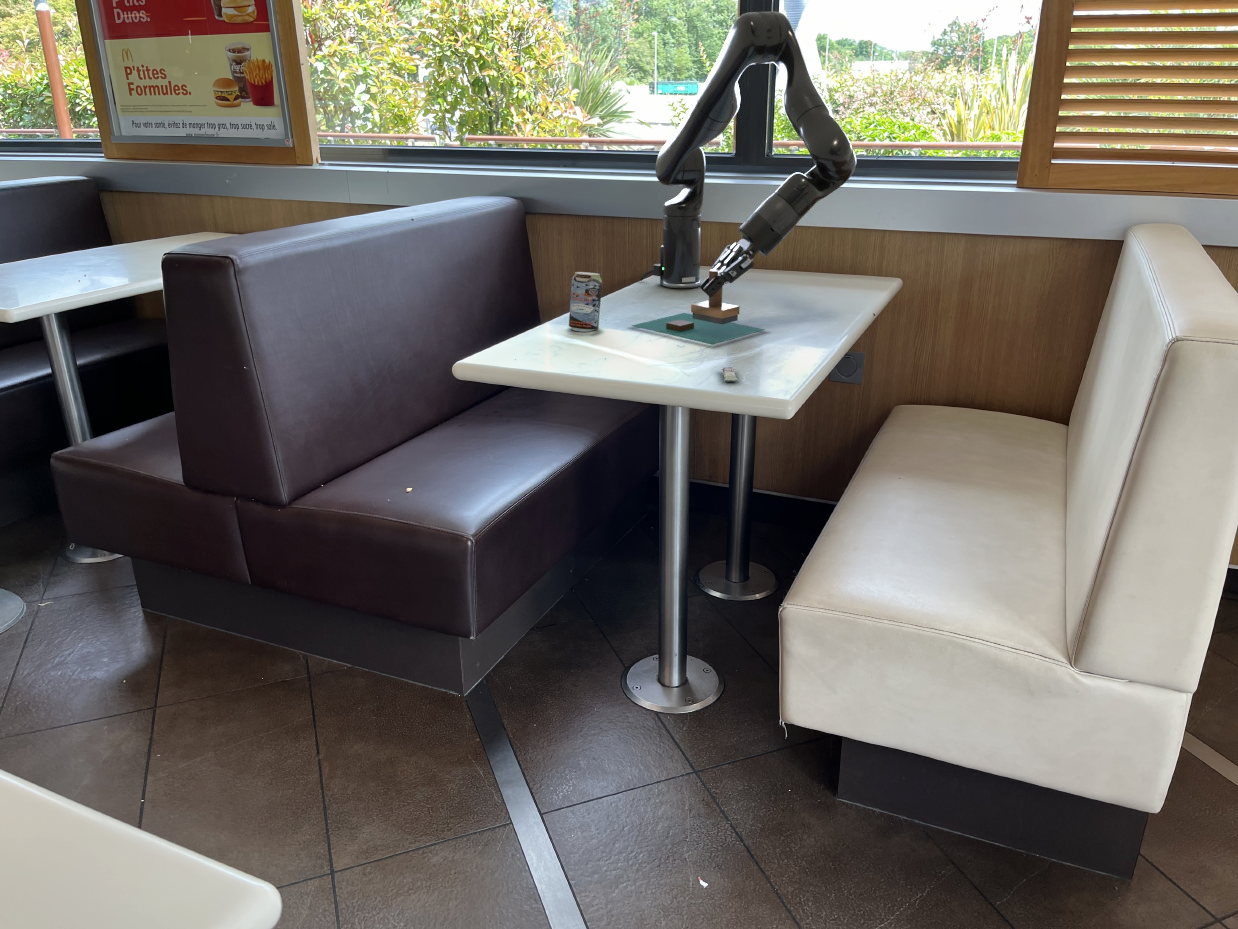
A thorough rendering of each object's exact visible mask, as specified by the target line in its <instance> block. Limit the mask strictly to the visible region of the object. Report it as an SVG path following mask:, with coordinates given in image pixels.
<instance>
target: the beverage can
mask: <svg viewBox="0 0 1238 929" xmlns="http://www.w3.org/2000/svg"><path fill="white" fill-rule="evenodd" d="M602 286H603V280H602V278H601V276H600V273H597V272H596V273H595V272H588V271H586V272H585V271H575V272H574V275H573V276H572V278H571V287H570V301H569V314H568V327H569V328H571V330H572V331H574V332H582V333H590V332H594V331H595V330H598V329H599V327H600V326H599V325H600V316H601V315H600V313H601V299H602V288H603V287H602Z"/></svg>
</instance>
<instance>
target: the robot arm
mask: <svg viewBox="0 0 1238 929" xmlns="http://www.w3.org/2000/svg"><path fill="white" fill-rule="evenodd" d="M772 63H773V64H774V65H775V66H776V67H777V68H778V70H780V72H781V74H782V76H783V80H784V81H783V89H782V90H783V91H782V105H783V110H784V113H785V116H786V118H787V119H788V121H789V123H790V124H791V126H792V128H793V130H794V131H795V133H796V135H797V136H798V137H799V139H800V140H801V141H802V142H803V144H804V146H805V147H806V149H807V151H808V153H809V155H810V157H811V159H812V162H813V164H814V166H813V167H812V168H810V170H808V171H807V172H805V173H804V174H803V173H801V172H794V173H792V174H791V175H790V176H789V177H788V178H786V180H785V181H783V183H782V184H781V185H780V186H779V187H778V188H777V189H776V190H775V191H774V192H773V193H772V194H771V195H770V196H768V198H766V199H765V200H764V201H763V202H762V203H761V204H759V206H758V207H757V208H756V209H755V210H754V211H753V212H752V213H751V214H750V215H749V216H748V218H746V220H745V221H744V222H743V223H742V224H741V225H740V226H739V228H738V231H739V233H740V234H741V235H742V238H741V239H739V240H738V241H737V242H734V243H732V244H728V245H726V247H725V248H724V250H722V252H721V253H720V255H719V257H718V258H717V259H716V261H715V262H714V263H713V265H712V267H711V268H712V269H721V270H720V271H719V272H718V274H717V276H718V277H717V276H715V277H714V278H713V279H712V280H711V281H710V282H709V275H708V276H707V277H706V278H705V279H704V280H703V281H702V282H701V248H702V247H701V242H702V241H701V240H702V238H701V237H702V209H703V208H702V207H703V203H704V195H705V180H706V156H705V153H704V151H703V148H702V147H703V146H705V145H707V144H708V143H710V142H712V141H713V140H715V139H716V138H717V137H719V136H720V135H721V134H723V133H724V132H725V130H726V129H727V128H728V126H730V124H731V123H732V120H733V119H734V118H735V117H736V115H737V113H738V112H739V109H740V104H741V94H740V87H739V83H738V81H739V79H740V77H741V75H742V74H743V72H744V71H745V70H746V69H747V68H748V67H749V66H752V65H761V64H763V65H764V64H772ZM655 161H656V162H655V175H656V179H657V181H658V182H659V183H660V184H661V185H664V186H668V187H682V188H681V191H680V192H679V193H678V194H677V195H676V196H675V197H673V198H671V199H669V200H667V201H665V202H664V203H663V206H662V207H663V208H662V209H663V211H662V213H663V214H662V215H663V216H662V218H663V219H662V222H663V224H662V228H663V229H662V236H663V237H662V245H661V246H660V247H659V263H655V264H653V265H652V269H649V270H648V271H646V272H644V273H643V275H642V276H641V277H640V278H639V281H643V280H644V279H645V278H646V277H647V276H648V275H650V274H652V276H654V277H659V285H662V286H664V288H665V287H666V288H670V289H691V288H693V289H694V288H697V287H699V288H700V290H701V291H703V293H704V294H706V295H707V296H708V298H709V297H712V296H713V295H714V294H715V293H716V292H717V291H718V290H719V289H720V288H721V287H722V286H723V287H724V285H727V284H732V283H734V282H735V281H737V279H739V278H740V277H741V276H743V275H744V274H745V273H746V272H748V271H749V270H750V269H752V268H753V267H754V266H755V263H754V258H755V257H756V255H757V254H758V253H760V254H761V255H762V256H765V257H767V256H769V255H770V254H771V253H772V252H773V251H774V249H776V248H777V246H778V245H779V244H781V242H782V241H783V240H785V238H786V237H787V236H788V235H789V234H790V233H791V232H792V231H793V230H794V228H795V227H796V226H797V225H798V223H799V222H800V221H801V220H802V218H804V216H806V215H807V213H809V211H811V209H812V208H813V207H814V206H815V205H816V204H817V203H818V202H819V201H821V200H822V199H825V198H826V197H828V196H830V195H831V194H832V193H834V192H835V191H836V190H838V189H840V188H841V186H843V185H844V184H845V183H846V182H847V181H849V179H850V178H851V176H852V175H853V174H854V172H855V170H856V166H857V157H856V154H855V152H854V149H853V146H852V144H851V142H850V140H849V137H848V136H847V134H846V132H845V131H844V130H843V128H842V127H841V125H840V123H838V122H837V120H836V119H835V118H834V117H833V114H832V112H831V110H830V108H829V107H828V105H827V104H826V102H825V100H824V99H823V97H822V95H821V94H820V92H819V90H818V89H817V87H816V85H815V84H814V81H813V79H812V77H811V75H810V71H809V69H808V66H807V63H806V60H805V58H804V54H803V52H802V50H801V46H800V44H799V41H798V39H797V36H796V32H795V31H794V28H793V25H792V23H791V22H790V21H789V19H788V18H787V16H786V15H785V14H784V13H782V12H780V11H749V12H745V13H742V14H741V15H740V16H739V17H738V18H737V19H736V20H735V21H734V23H733V25H732V26H731V28H730V30H729V32H728V35H727V36H726V39H725V41H724V44H723V46H722V48H721V51H720V53H719V54H718V58H717V59H716V62H715V63H714V65H713V67H712V69H711V71H710V72H709V75H708V76H707V78H706V80H705V82H704V83H703V85H702V87H700V89H699V91H698V92H697V95H696V96H695V98H694V100H693V102H692V103H691V105H690V107H689V109H688V111H687V112H686V114H685V116H684V118H683V119H682V120H681V122H680V124H679V125H678V126H677V128H676V129H675V131H674V132H673V133H672V135H670V137H669V139H667V141H666V142H665V144H664V145H663V146H662V148H661V149H660V151H659V153H658V155H657V157H656V160H655Z"/></svg>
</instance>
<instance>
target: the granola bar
mask: <svg viewBox="0 0 1238 929" xmlns="http://www.w3.org/2000/svg"><path fill="white" fill-rule="evenodd" d="M734 370H735V368H733V367H731V366H725V367H722V368H721V370H720V371H722V374H723V377H724V379H723V380H724V381H725V382H737V381H738V380H739V379H738V378H737V376H736V373H735V371H734Z"/></svg>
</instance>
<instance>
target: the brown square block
mask: <svg viewBox="0 0 1238 929" xmlns="http://www.w3.org/2000/svg"><path fill="white" fill-rule="evenodd" d="M693 328H694V322H689V321H684V320H676V321H672V322H668V323H666V329H671V330H675V331H679V332H682V331H685V330H689V329H693Z"/></svg>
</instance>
